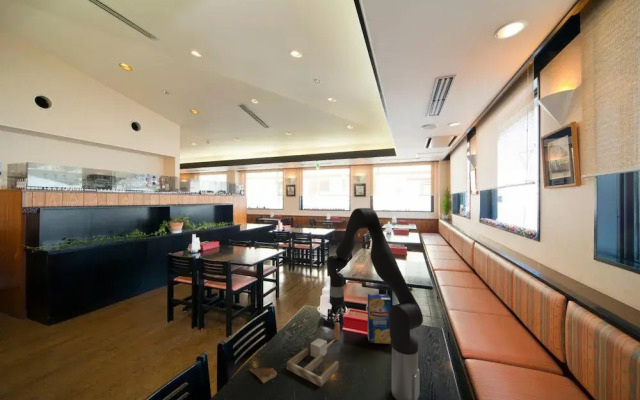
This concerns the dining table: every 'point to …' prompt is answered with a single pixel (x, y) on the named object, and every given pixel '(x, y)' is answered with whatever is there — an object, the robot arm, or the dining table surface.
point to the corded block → (323, 343)
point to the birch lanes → (311, 368)
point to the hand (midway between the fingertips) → (336, 325)
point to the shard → (264, 373)
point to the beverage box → (379, 318)
